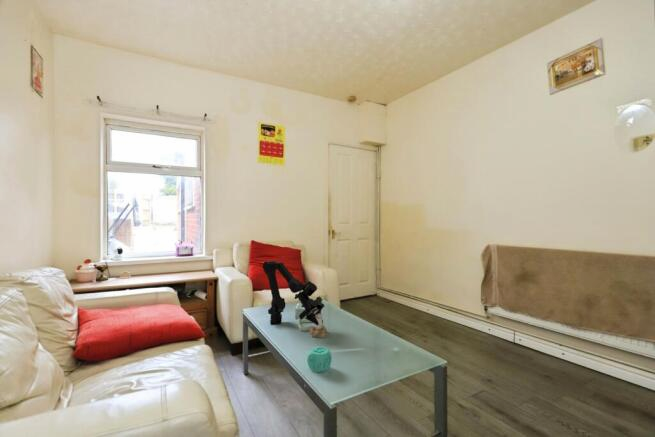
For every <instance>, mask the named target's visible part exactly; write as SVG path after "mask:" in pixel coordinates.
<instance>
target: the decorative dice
mask: <svg viewBox="0 0 655 437" xmlns="http://www.w3.org/2000/svg"><path fill="white" fill-rule="evenodd" d="M332 359H333V358H332V353H331V351H330V350H329V349H328V348H327V347H324V346H315V347H313V348H311V350H309V352H308V354H307V361H306V362H307V365H308V367H309V369H310V370H311V371H312V370H313V371H312V372H314V371H315V372H314V373H317V372H322V373H325V372H327V371H328V370H329V369H330V367H331V365H332Z"/></svg>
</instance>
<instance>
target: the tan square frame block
mask: <svg viewBox="0 0 655 437" xmlns="http://www.w3.org/2000/svg"><path fill="white" fill-rule="evenodd" d="M309 326H310V330H309V333H310V334H309V335H310V336H311V338H321V337H322V338H325V337H328V331H327V329H326V327H325V325H323V324H322V330H318V331H315V325H309Z"/></svg>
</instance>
